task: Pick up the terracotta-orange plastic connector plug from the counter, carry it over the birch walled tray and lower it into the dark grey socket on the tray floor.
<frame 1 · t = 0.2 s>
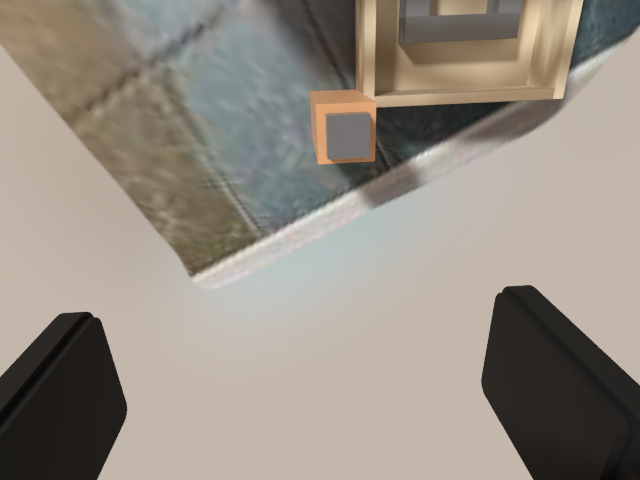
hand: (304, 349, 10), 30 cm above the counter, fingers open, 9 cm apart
connector: (333, 113, 36), on the counter
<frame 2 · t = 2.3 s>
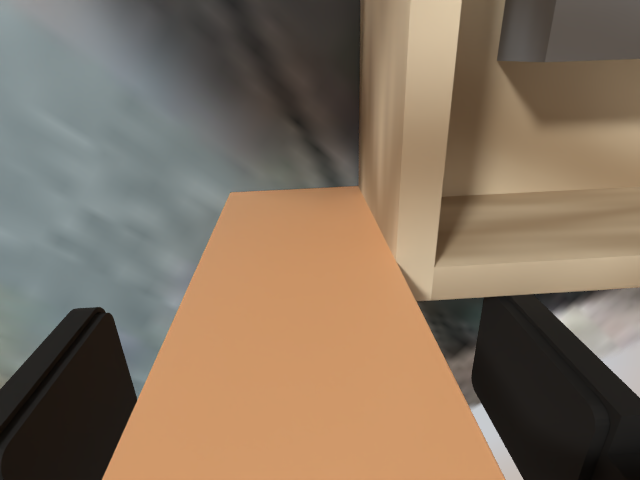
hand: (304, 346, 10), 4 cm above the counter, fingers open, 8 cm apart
connector: (298, 246, 13), on the counter
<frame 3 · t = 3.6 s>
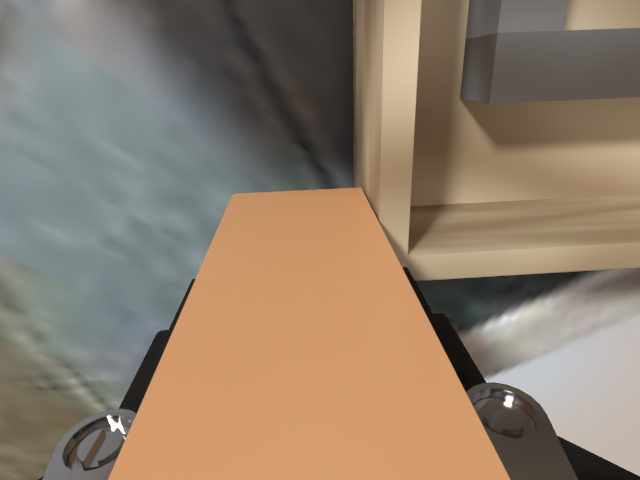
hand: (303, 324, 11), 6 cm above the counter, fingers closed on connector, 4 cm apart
connector: (300, 248, 13), point 3 cm above the counter, touching gripper
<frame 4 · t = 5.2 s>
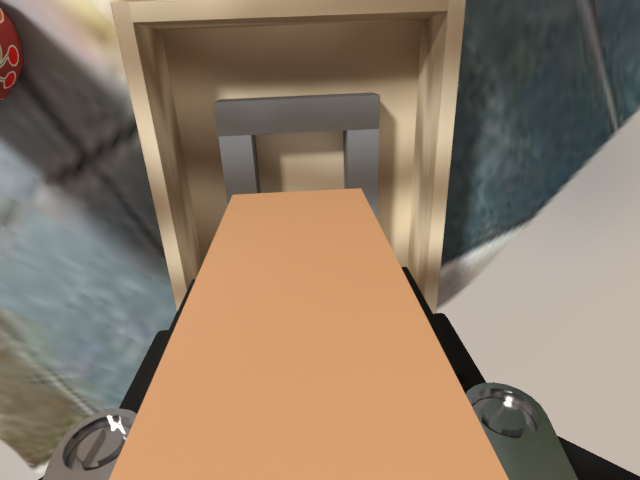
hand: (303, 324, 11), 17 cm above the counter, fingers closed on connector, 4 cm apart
connector: (300, 248, 13), point 14 cm above the counter, touching gripper
walled tray: (301, 167, 26), on the counter
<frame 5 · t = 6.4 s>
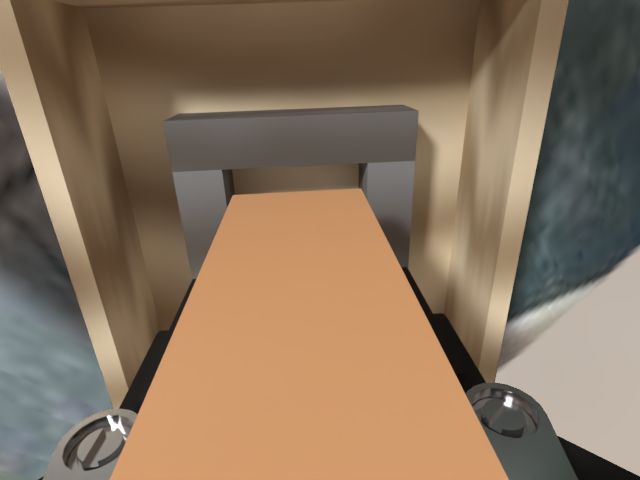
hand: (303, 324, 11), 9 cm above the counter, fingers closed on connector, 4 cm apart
connector: (300, 249, 13), point 6 cm above the counter, touching gripper
walled tray: (298, 208, 19), on the counter
when the fingers open (5 cm above the counter, at t = 7.6 s): connector stays where it is, resting on walled tray.
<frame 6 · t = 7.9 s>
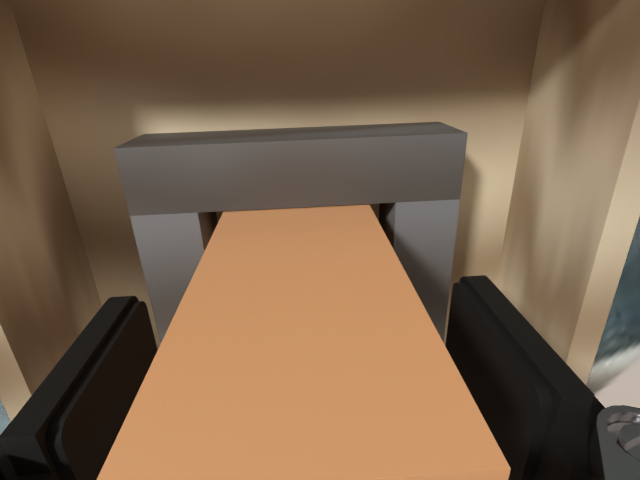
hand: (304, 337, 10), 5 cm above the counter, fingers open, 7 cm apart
connector: (299, 242, 14), point 1 cm above the counter, touching walled tray
walled tray: (301, 249, 15), on the counter
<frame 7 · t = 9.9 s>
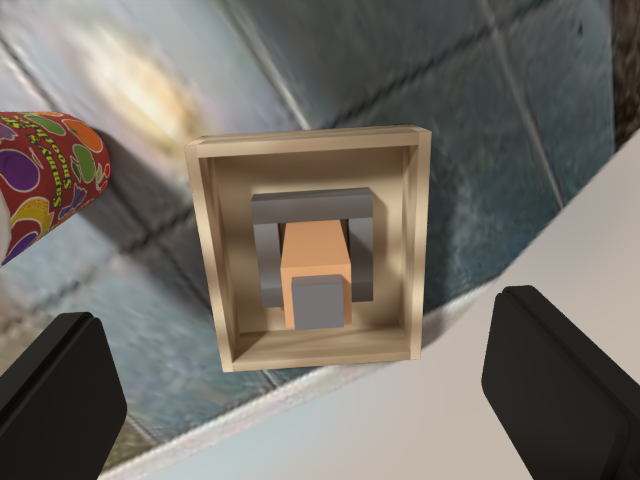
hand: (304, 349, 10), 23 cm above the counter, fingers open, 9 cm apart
connector: (313, 235, 33), point 1 cm above the counter, touching walled tray
smoothie: (74, 156, 31), on the counter
walled tray: (314, 239, 34), on the counter
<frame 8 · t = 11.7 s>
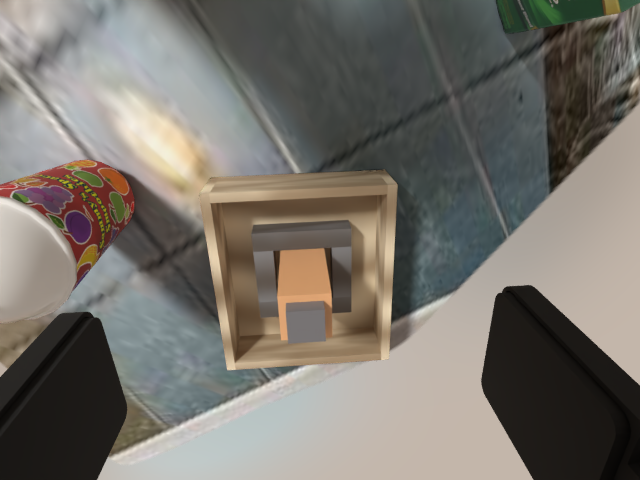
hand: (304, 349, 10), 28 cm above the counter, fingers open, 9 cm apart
connector: (302, 258, 39), point 1 cm above the counter, touching walled tray
smoothie: (102, 192, 36), on the counter
walled tray: (303, 260, 40), on the counter
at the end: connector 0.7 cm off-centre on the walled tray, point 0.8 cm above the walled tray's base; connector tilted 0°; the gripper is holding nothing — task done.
